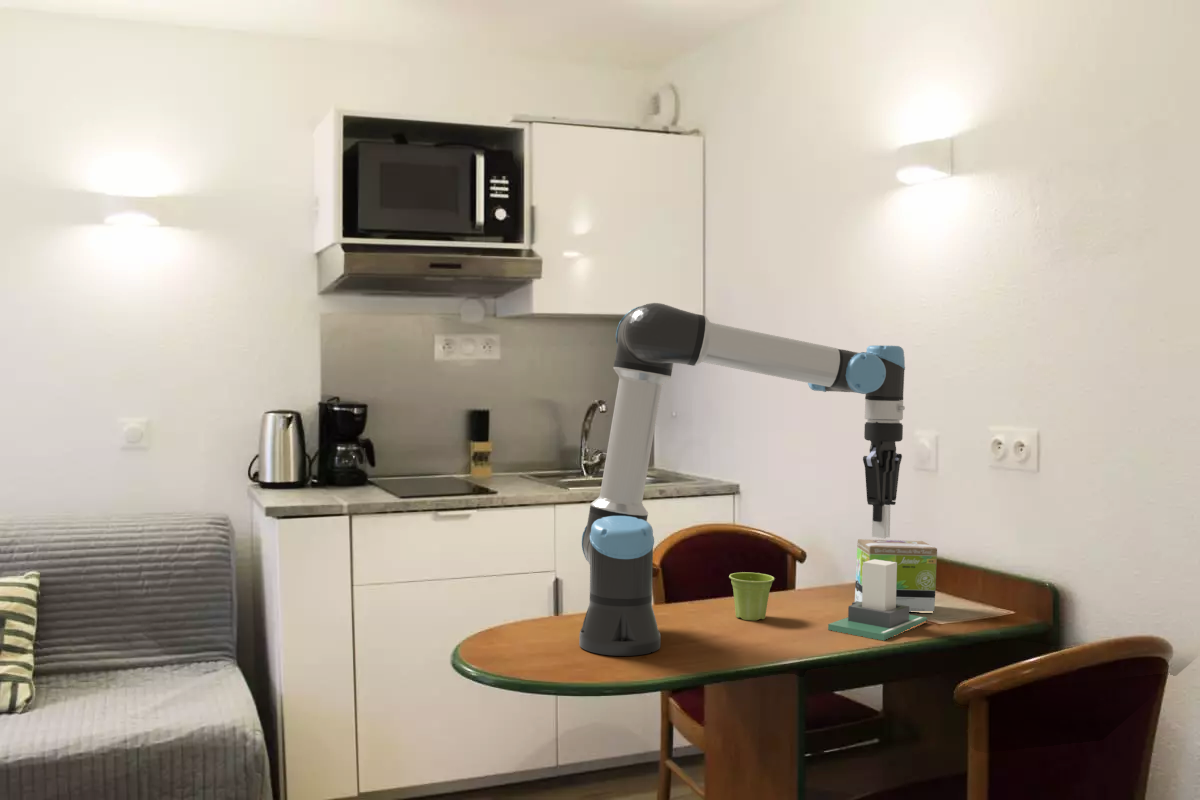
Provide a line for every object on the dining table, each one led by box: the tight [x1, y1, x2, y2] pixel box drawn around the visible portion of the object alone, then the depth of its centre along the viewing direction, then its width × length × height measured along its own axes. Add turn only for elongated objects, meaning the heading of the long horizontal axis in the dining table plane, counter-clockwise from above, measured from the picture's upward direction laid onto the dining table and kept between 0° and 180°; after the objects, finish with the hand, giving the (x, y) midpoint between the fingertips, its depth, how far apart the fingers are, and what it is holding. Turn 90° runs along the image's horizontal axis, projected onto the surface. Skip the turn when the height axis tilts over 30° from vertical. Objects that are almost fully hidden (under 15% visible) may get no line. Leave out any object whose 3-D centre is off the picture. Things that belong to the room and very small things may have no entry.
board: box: [827, 601, 928, 642], centre depth 214 cm, size 20×12×4 cm, turn 139°
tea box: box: [854, 538, 938, 612], centre depth 231 cm, size 15×10×15 cm, turn 92°
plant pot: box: [728, 571, 775, 621], centre depth 220 cm, size 9×9×9 cm
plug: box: [862, 559, 897, 611], centre depth 214 cm, size 5×6×12 cm
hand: (880, 536), depth 213 cm, fingers closed
